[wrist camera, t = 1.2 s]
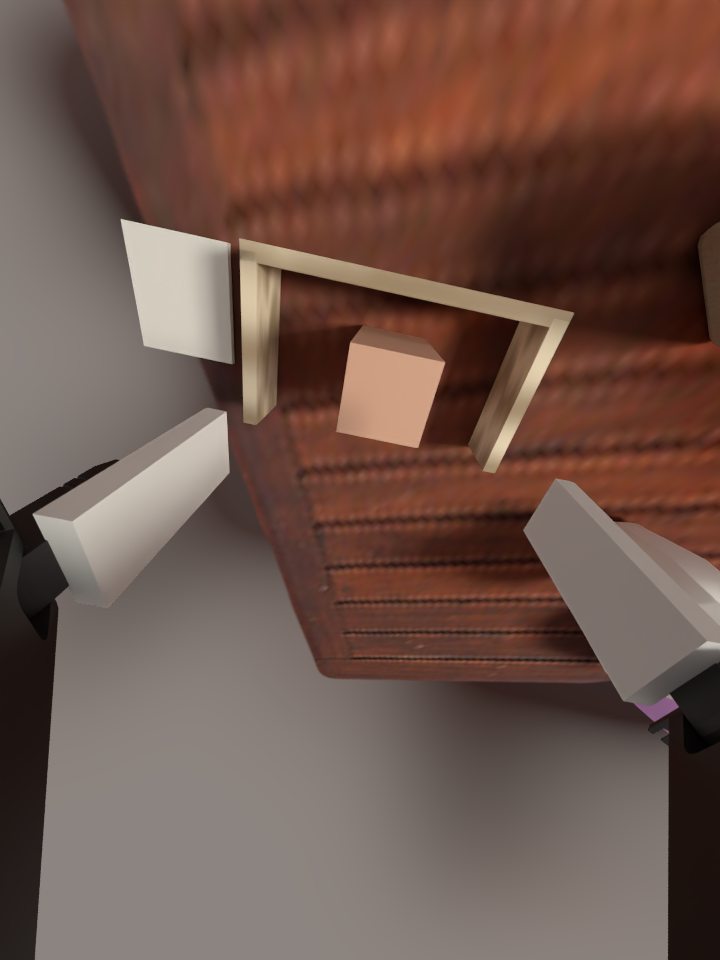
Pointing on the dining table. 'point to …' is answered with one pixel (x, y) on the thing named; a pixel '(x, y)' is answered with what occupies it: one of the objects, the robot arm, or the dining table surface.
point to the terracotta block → (388, 386)
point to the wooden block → (711, 278)
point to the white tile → (182, 291)
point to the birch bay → (526, 349)
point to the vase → (680, 568)
